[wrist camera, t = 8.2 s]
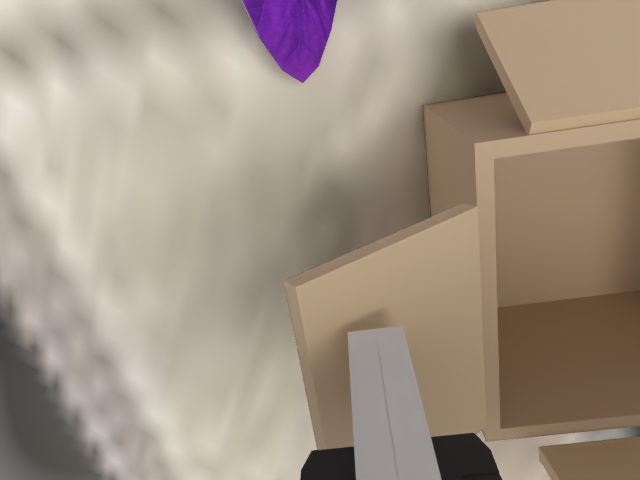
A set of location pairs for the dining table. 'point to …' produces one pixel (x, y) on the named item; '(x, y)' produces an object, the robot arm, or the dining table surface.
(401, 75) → the dining table surface
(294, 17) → the decorative flower
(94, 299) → the dining table surface
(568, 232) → the carton
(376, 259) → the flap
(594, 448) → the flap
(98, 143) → the dining table surface
